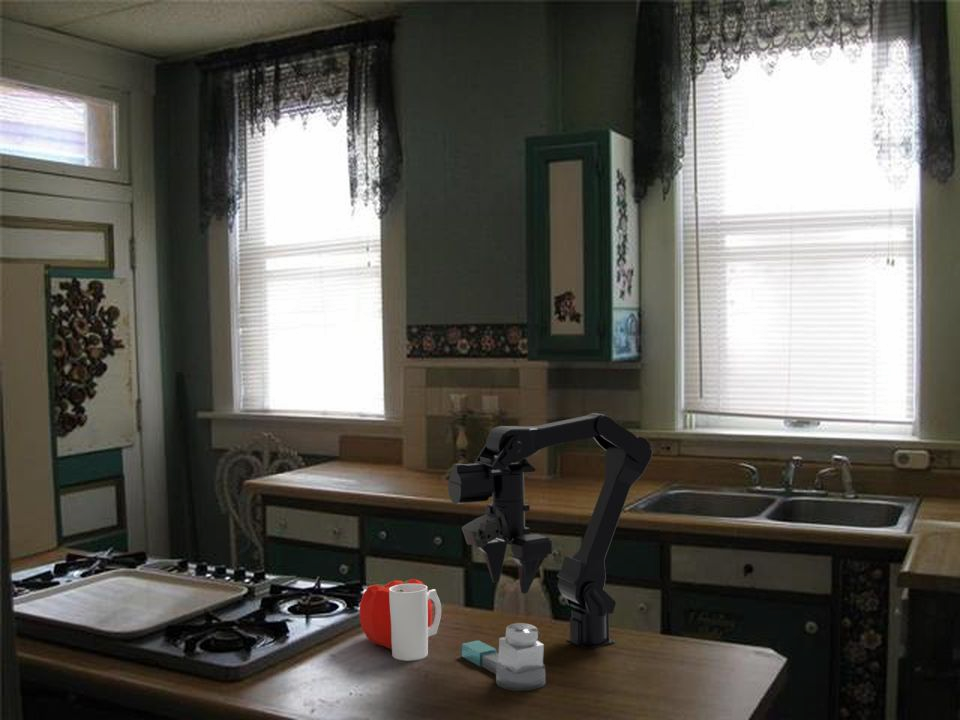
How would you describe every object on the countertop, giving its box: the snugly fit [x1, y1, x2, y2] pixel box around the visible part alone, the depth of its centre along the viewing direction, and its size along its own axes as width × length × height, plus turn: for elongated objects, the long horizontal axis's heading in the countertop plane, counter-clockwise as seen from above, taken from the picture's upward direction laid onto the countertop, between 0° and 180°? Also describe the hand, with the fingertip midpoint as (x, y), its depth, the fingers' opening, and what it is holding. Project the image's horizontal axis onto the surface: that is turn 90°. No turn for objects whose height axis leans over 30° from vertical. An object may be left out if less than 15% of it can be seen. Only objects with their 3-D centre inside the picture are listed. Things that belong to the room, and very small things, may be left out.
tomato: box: [358, 578, 433, 651], centre depth 184 cm, size 13×14×12 cm
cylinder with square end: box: [498, 622, 545, 674], centre depth 163 cm, size 5×5×6 cm
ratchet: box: [461, 639, 546, 692], centre depth 169 cm, size 20×8×6 cm, turn 31°
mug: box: [389, 584, 442, 662], centre depth 179 cm, size 10×7×12 cm, turn 125°
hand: (509, 587), depth 177 cm, fingers open, 9 cm apart
